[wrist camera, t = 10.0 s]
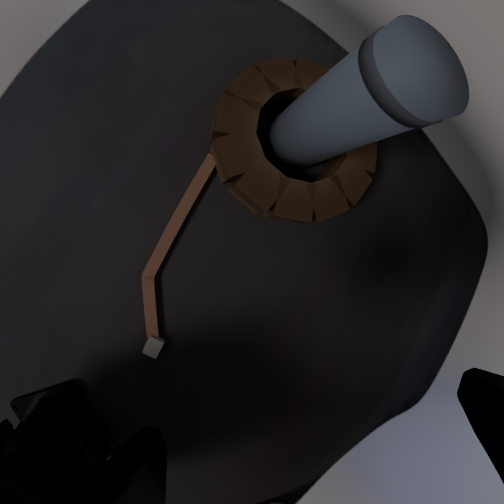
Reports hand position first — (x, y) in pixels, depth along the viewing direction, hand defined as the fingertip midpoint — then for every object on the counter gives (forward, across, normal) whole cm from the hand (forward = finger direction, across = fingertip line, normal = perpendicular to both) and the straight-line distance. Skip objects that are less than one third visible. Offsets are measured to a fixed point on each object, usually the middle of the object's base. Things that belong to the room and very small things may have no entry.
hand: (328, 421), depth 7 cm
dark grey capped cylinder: (+14, -2, -8) cm, 16 cm away
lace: (+12, +5, -2) cm, 13 cm away
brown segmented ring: (+14, -2, -8) cm, 16 cm away
